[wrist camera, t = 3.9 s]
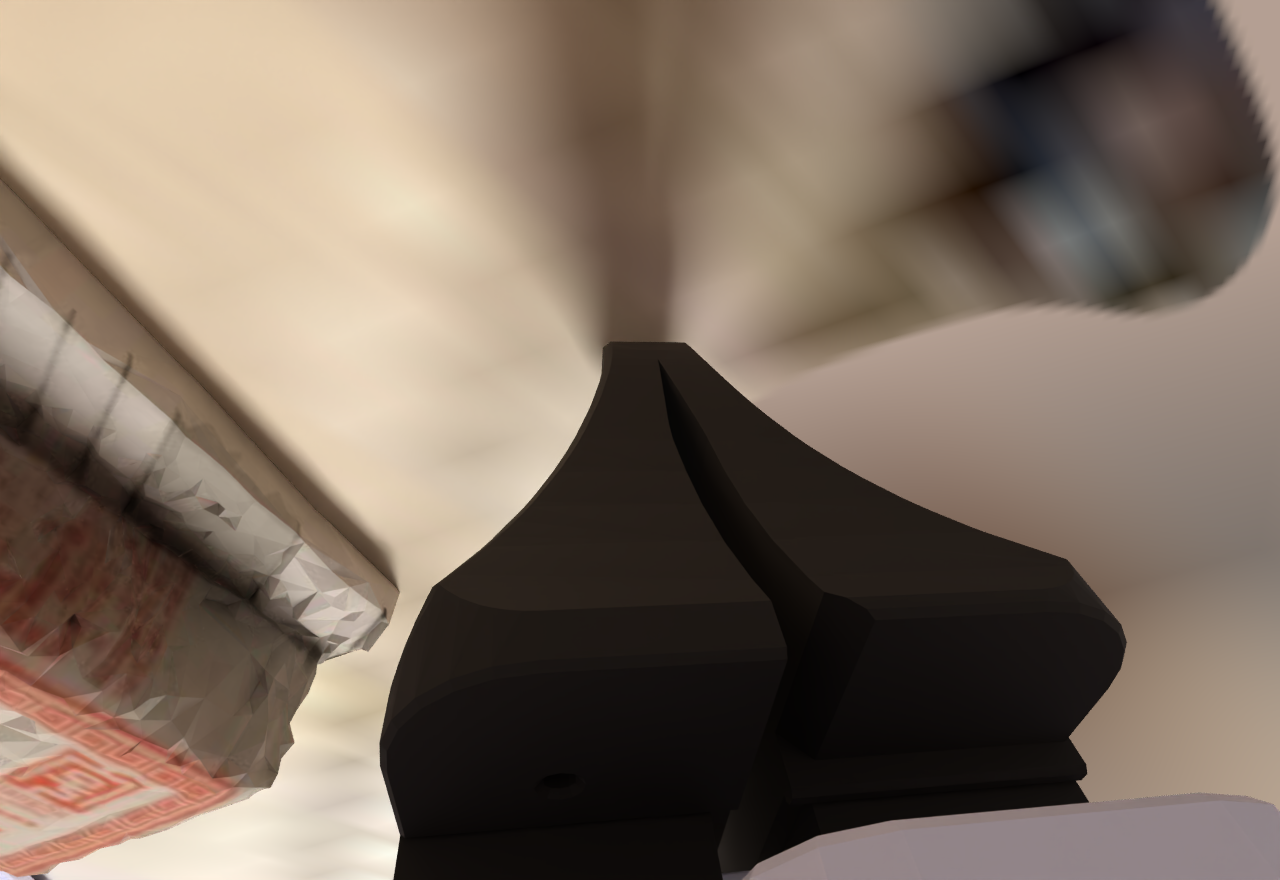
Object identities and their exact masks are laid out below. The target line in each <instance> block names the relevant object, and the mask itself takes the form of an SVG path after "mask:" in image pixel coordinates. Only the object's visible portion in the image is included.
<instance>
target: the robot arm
mask: <svg viewBox="0 0 1280 880" xmlns="http://www.w3.org/2000/svg"><path fill="white" fill-rule="evenodd" d="M1126 643H1127V642H1126V638H1125V635H1124V632H1123V629H1122V626H1121V624H1120V623H1119V622H1118V620H1117V619H1116V618H1115V617H1114V615H1113V614H1112V613H1111V612H1110V611H1109V609H1108V608H1107V607H1106V606H1105V605H1104V603H1102V601H1101V600H1100V599H1099V597H1098V596H1097V595H1096V594H1095V593H1094V592H1093V590H1092V589H1091V588H1090V587H1089V585H1087V583H1086V582H1085V581H1084V580H1083V578H1082V577H1081V576H1080V575H1079V573H1078V572H1077V571H1076V570H1075V568H1074V567H1073V566H1072V565H1071V564H1070V562H1069V561H1068V560H1066V559H1064V558H1061V557H1058V556H1055V555H1052V554H1049V553H1046V552H1043V551H1040V550H1037V549H1034V548H1031V547H1028V546H1025V545H1022V544H1019V543H1015V542H1013V541H1010V540H1007V539H1004V538H1001V537H998V536H994V535H992V534H988V533H986V532H983V531H980V530H977V529H975V528H972V527H970V526H967V525H965V524H962V523H960V522H957V521H955V520H952V519H950V518H947V517H945V516H942V515H940V514H938V513H935V512H933V511H930V510H928V509H926V508H923V507H921V506H919V505H917V504H914V503H912V502H910V501H908V500H906V499H903V498H901V497H899V496H897V495H895V494H893V493H891V492H889V491H887V490H885V489H883V488H881V487H879V486H877V485H875V484H874V483H871V482H869V481H868V480H866V479H863V478H862V477H860V476H858V475H856V474H855V473H853V472H851V471H849V470H847V469H846V468H844V467H842V466H840V465H839V464H837V463H835V462H834V461H832V460H831V459H829V458H827V457H826V456H824V455H823V454H821V453H819V452H818V451H816V450H815V449H813V448H811V447H810V446H808V445H807V444H805V443H804V442H802V441H801V440H799V439H798V438H797V437H795V436H794V435H792V434H791V433H790V432H788V431H787V430H786V429H784V428H783V427H782V426H780V425H779V424H778V423H776V422H775V421H774V420H772V419H771V418H770V417H769V416H767V415H766V414H765V413H763V412H762V411H761V410H760V409H759V408H757V407H756V406H755V405H754V404H752V403H751V402H750V401H749V400H748V399H747V398H745V397H744V396H743V395H742V394H741V393H740V392H739V391H737V390H736V389H735V388H734V387H733V386H732V385H731V384H730V383H728V382H727V381H726V380H725V379H724V378H723V377H722V376H721V375H720V374H719V373H718V372H716V371H715V370H714V369H713V368H712V367H711V366H710V365H709V364H708V363H707V362H706V361H705V360H704V359H703V358H702V357H700V356H699V355H698V354H697V353H696V352H695V351H694V350H693V349H692V348H691V347H690V346H688V345H687V344H686V343H676V342H610V343H608V344H607V345H606V346H605V347H604V348H603V357H602V375H601V379H600V382H599V385H598V388H597V390H596V393H595V396H594V399H593V401H592V404H591V406H590V409H589V411H588V413H587V415H586V417H585V419H584V421H583V423H582V425H581V427H580V429H579V431H578V433H577V435H576V437H575V438H574V440H573V442H572V444H571V445H570V447H569V449H568V450H567V452H566V453H565V455H564V456H563V458H562V459H561V461H560V462H559V464H558V465H557V467H556V468H555V470H554V471H553V472H552V474H551V475H550V476H549V478H548V479H547V480H546V481H545V483H544V484H543V485H542V487H541V488H540V489H539V490H538V492H537V493H536V494H535V495H534V497H533V498H532V499H531V500H530V501H529V502H528V504H527V505H526V506H525V507H524V508H523V509H522V510H521V511H520V512H519V513H518V514H517V515H516V516H515V517H514V518H513V519H512V520H511V521H510V522H509V523H508V524H507V525H506V526H505V527H504V528H503V529H502V530H501V531H500V532H499V533H498V534H497V535H496V536H495V537H494V538H493V539H492V540H491V541H490V542H489V543H487V544H486V545H485V546H484V547H483V548H482V549H481V550H480V551H478V552H477V553H476V554H474V555H473V556H472V557H471V558H469V559H468V560H467V561H466V562H464V563H463V564H462V565H461V566H459V567H458V568H457V569H455V570H454V571H453V572H452V573H450V574H449V575H448V576H447V577H445V578H444V579H443V580H441V581H440V582H439V583H437V584H436V585H434V586H433V587H432V589H431V591H430V593H429V595H428V597H427V599H426V601H425V603H424V605H423V607H422V609H421V611H420V613H419V615H418V617H417V620H416V622H415V624H414V626H413V629H412V631H411V633H410V636H409V638H408V640H407V642H406V645H405V647H404V650H403V653H402V656H401V658H400V661H399V664H398V667H397V670H396V673H395V676H394V679H393V682H392V685H391V690H390V694H389V698H388V703H387V708H386V713H385V718H384V723H383V728H382V733H381V738H380V767H381V771H382V774H383V778H384V781H385V784H386V788H387V791H388V795H389V798H390V802H391V805H392V809H393V812H394V815H395V819H396V822H397V826H398V829H399V833H400V841H399V847H398V854H397V860H396V867H395V873H394V879H393V880H1280V811H1279V810H1278V809H1277V808H1276V807H1275V805H1274V804H1271V803H1268V802H1265V801H1261V800H1258V799H1255V798H1251V797H1248V796H1239V795H1224V794H1210V793H1190V794H1179V795H1168V796H1157V797H1146V798H1135V799H1124V800H1113V801H1103V802H1092V803H1089V801H1088V800H1087V798H1086V797H1085V795H1084V793H1083V792H1082V790H1081V788H1080V787H1079V785H1078V784H1077V782H1076V781H1077V780H1082V779H1083V778H1084V777H1085V776H1086V775H1087V768H1086V763H1085V762H1084V760H1083V759H1082V757H1081V756H1080V754H1079V753H1078V751H1077V750H1076V748H1075V747H1074V745H1073V743H1072V742H1071V740H1070V739H1069V736H1070V735H1071V733H1072V732H1073V731H1074V730H1075V728H1076V727H1077V726H1078V725H1079V724H1080V722H1081V721H1082V720H1083V719H1084V717H1085V716H1086V715H1087V714H1088V712H1089V711H1090V710H1091V709H1092V708H1093V706H1094V705H1095V704H1096V703H1097V702H1098V700H1099V699H1100V698H1101V697H1102V696H1103V694H1104V693H1105V692H1106V690H1107V689H1108V688H1109V687H1110V685H1111V683H1112V682H1113V680H1114V679H1115V677H1116V675H1117V673H1118V672H1119V671H1120V669H1121V665H1122V662H1123V657H1124V653H1125V648H1126ZM0 880H34V879H33V878H32V877H31V876H22V877H16V876H13V875H11V874H9V873H6V872H4V871H0Z"/></svg>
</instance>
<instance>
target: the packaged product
mask: <svg viewBox="0 0 1280 880" xmlns="http://www.w3.org/2000/svg"><path fill="white" fill-rule="evenodd" d="M399 593H400V592H399V591H398V590H397V589H396V587H395V586H394V585H393V584H392V583H391V582H390V581H389V580H388V579H387V578H386V577H385V576H384V575H383V574H382V573H381V572H380V571H379V570H378V569H377V568H376V567H375V566H373V565H372V564H371V563H370V562H369V561H368V560H367V559H366V558H365V557H364V556H363V555H362V554H361V553H360V552H359V551H358V550H357V549H356V548H355V547H354V546H353V545H352V544H351V543H350V542H349V541H348V540H347V539H346V538H345V537H344V536H343V535H342V534H341V533H340V532H339V531H338V530H337V529H336V528H335V527H334V526H333V525H332V524H331V523H330V522H329V521H328V520H326V519H325V518H324V517H323V516H322V515H321V514H320V513H319V512H317V511H316V510H315V509H314V508H313V507H312V505H311V504H310V503H309V502H308V501H307V500H306V499H305V498H304V497H303V496H302V495H301V493H300V492H299V491H298V490H297V489H296V488H295V487H294V486H293V485H292V484H291V483H290V481H289V480H288V479H287V478H286V477H285V476H284V475H283V474H282V473H281V472H280V471H279V469H278V468H277V467H276V466H275V465H274V464H273V463H272V462H271V461H270V460H269V459H268V457H267V456H266V455H265V454H264V453H263V452H262V451H261V450H260V449H259V448H258V447H257V445H256V444H255V443H254V442H253V441H252V440H251V439H250V438H249V437H248V436H247V435H246V434H245V432H244V431H243V430H242V429H241V428H240V427H239V426H238V425H237V424H236V423H235V422H234V420H233V419H232V418H231V417H230V416H229V415H228V414H227V413H226V412H225V411H224V410H223V408H222V407H221V406H220V405H219V404H218V403H217V402H216V401H215V400H214V399H213V398H212V396H211V395H210V394H209V393H208V392H207V391H206V390H205V389H204V388H203V387H202V386H201V385H200V384H199V383H198V382H197V380H196V379H195V378H194V377H193V376H192V375H190V374H189V373H188V372H187V371H186V370H185V369H184V368H183V367H182V366H181V365H180V364H179V363H178V362H177V361H176V360H175V359H174V358H173V357H172V356H171V355H170V354H169V353H168V352H167V351H166V350H165V349H164V348H163V347H162V346H161V345H160V344H159V343H158V342H157V341H156V339H155V338H154V337H153V336H152V335H151V334H150V333H149V332H148V331H147V330H146V329H145V328H144V327H143V326H142V325H141V324H140V323H139V322H138V321H137V320H136V319H135V318H134V317H133V316H132V315H131V314H130V313H129V312H128V311H127V310H126V309H125V308H124V306H123V305H122V304H121V303H120V302H119V301H118V300H117V299H116V298H115V297H114V296H113V295H112V294H111V293H110V292H109V291H108V290H107V289H106V288H105V287H104V286H103V285H102V284H101V283H100V282H99V281H98V280H97V279H96V278H95V277H94V276H93V275H92V273H91V272H90V271H89V270H88V269H87V268H86V267H85V266H84V265H83V264H82V263H81V262H80V261H79V260H78V259H77V258H76V257H75V256H74V255H73V254H72V253H71V252H70V251H69V250H68V249H67V248H66V247H65V245H64V244H63V243H62V242H61V241H60V240H59V239H58V238H57V237H56V236H55V235H54V234H53V233H52V232H51V231H50V230H49V229H48V228H47V226H46V225H45V224H44V223H43V222H42V221H41V220H40V219H39V218H38V217H37V216H36V215H35V214H34V213H33V212H32V211H31V210H30V209H29V207H28V206H27V205H26V204H25V203H24V202H23V201H22V200H21V199H20V198H19V197H18V196H17V195H16V194H15V193H14V192H13V191H12V190H11V189H10V188H9V187H8V186H7V185H6V184H5V183H4V182H3V181H2V180H1V179H0V871H4V872H6V873H9V874H11V875H13V876H16V877H22V876H30V875H38V874H46V873H49V872H50V871H51V870H52V869H53V868H54V867H55V866H57V865H58V864H59V863H61V862H67V861H73V860H79V859H81V858H83V857H85V856H87V855H89V854H91V853H93V852H95V851H97V850H99V849H100V848H104V847H109V846H114V845H118V844H121V843H123V842H125V841H127V840H129V839H136V838H142V837H146V836H149V835H152V834H155V833H158V832H162V831H165V830H168V829H170V828H172V827H174V826H177V825H179V824H181V823H183V822H186V821H188V820H190V819H192V818H195V817H197V816H200V815H203V814H205V813H208V812H211V811H214V810H217V809H220V808H223V807H226V806H229V805H232V804H234V803H237V802H240V801H243V800H246V799H248V798H250V797H251V796H252V795H253V794H254V793H256V792H258V791H260V790H263V789H266V788H270V787H271V785H272V784H273V782H274V780H275V778H276V776H277V774H278V770H279V766H280V761H281V758H282V757H283V756H284V754H285V753H286V752H287V751H288V750H289V749H290V747H291V746H292V745H293V744H294V739H293V735H292V731H291V727H290V721H291V720H292V718H293V716H294V714H295V712H296V710H297V709H298V707H299V706H300V704H301V703H302V701H303V700H304V698H305V697H306V695H307V694H308V692H309V690H310V687H311V685H312V682H313V680H314V677H315V675H316V668H317V664H321V663H323V662H324V661H326V660H329V659H332V658H335V657H338V656H341V655H343V654H346V653H349V652H352V651H355V650H360V649H363V650H365V651H369V650H370V649H371V647H372V646H373V645H374V643H375V642H376V641H377V639H378V638H379V637H380V635H381V634H382V633H383V631H384V630H385V629H386V627H387V626H388V625H389V623H390V620H391V617H392V614H393V611H394V608H395V605H396V602H397V599H398V596H399Z"/></svg>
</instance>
